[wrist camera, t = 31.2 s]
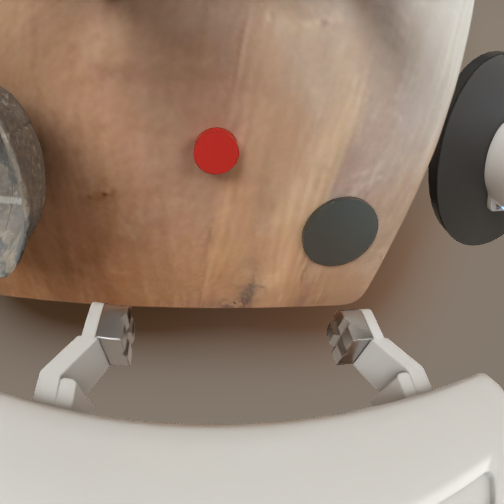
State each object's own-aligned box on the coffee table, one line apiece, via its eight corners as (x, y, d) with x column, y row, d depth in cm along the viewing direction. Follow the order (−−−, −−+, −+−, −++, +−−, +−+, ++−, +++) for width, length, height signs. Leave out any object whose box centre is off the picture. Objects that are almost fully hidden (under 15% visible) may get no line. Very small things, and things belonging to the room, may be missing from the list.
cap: (223, 119, 25) (224, 124, 24) (244, 153, 28) (246, 160, 26) (186, 141, 26) (185, 147, 25) (208, 173, 29) (209, 181, 27)
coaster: (387, 202, 33) (389, 204, 33) (359, 264, 40) (361, 266, 39) (314, 191, 32) (315, 194, 31) (293, 261, 38) (294, 265, 37)
